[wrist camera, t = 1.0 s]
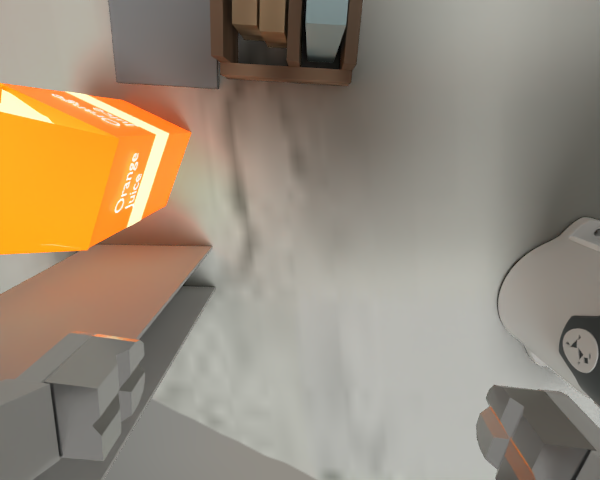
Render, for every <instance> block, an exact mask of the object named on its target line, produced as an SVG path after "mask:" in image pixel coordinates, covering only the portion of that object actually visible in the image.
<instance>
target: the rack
mask: <svg viewBox="0 0 600 480" xmlns="http://www.w3.org/2000/svg"><path fill="white" fill-rule="evenodd" d="M362 3H363V0H348V10H347V21H346V27H345V30H344V33H343V36H342V39H341V51H340V62H339V69H324V68H308V67H301V60H302V42H303V23H304V5H305V0H289V13H288V37H287V63H288V66H275V65H258V64H242V63H238V31H237V30H236V28H235V27H234V26H233V24H232V0H210V34H211V56H212V57H214V58H215V59H216V60H218V61H219V62H220V74H221V75H222V76H224V77H226V78H228V79H241V80H257V81H274V82H290V83H306V84H323V85H339V86H348V85H349V84H350V83H351V76H352V70H353V68H354V67H355V66H356V62H357V52H358V42H359V33H360V23H361V13H362Z"/></svg>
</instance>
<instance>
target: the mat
mask: <svg viewBox="0 0 600 480" xmlns="http://www.w3.org/2000/svg"><path fill="white" fill-rule="evenodd" d="M108 3H109V12H110V22H111V32H112V42H113V52H114V61H115V71H116V81H117V82H118V83H129V84H145V85H161V86H177V87H194V88H210V89H219V79H218V60H216V59H215V58H214V57H212V56H211V34H210V0H108Z"/></svg>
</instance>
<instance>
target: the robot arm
mask: <svg viewBox="0 0 600 480" xmlns="http://www.w3.org/2000/svg"><path fill="white" fill-rule="evenodd" d="M596 230H597V232H596V233H595V234H594V232H595V231H596ZM498 310H499V315H500V319H501V321H502V323H503V325H504V327H505V328H506V330H507V331H508V332H509V333H510V334H511V335H512V336H513V337H515V338H516V339H517V340H518V341H520V342H521V343H522V344H523V345H524V346H525V348H526V351H527V353H528V355H529V357H530V358H531V360H533V361H534V362H535V363H536V364H537V365H539V366H548V367H549V368H550V369H552V370H553V371H554V372H555V373H556V374H558V375H559V376H560V377H561V378H562V379H564V380H565V381H566V382H567V383H568V384H570V385H571V386H572V387H573V388H574V389H576V390H577V391H578V392H579V393H581V394H582V395H584V396H586V397H588V398H591V399H592V400H593V401H594V403H595V404H596V405H597V406H598V407H599V408H600V220H597V219H593V218H589V217H583V218H580V219H578V220H577V221H575V222H574V223H573V224H572V225H570V226H569V227H568V228H567V229H566V230H565V231H564V232H563V233H562V234H561V235H560V236H558V237H557V238H555V239H553V240H552V241H549V242H547V243H545V244H543V245H541V246H539V247H537V248H535V249H534V250H532V251H531V252H529V253H528V254H526V255H525V256H524V257H523V258H522V259H521V260H519V261H518V262H517V263H516V264H515V266H514V267H513V268H512V269H511V271H510V272H509V273H508V275H507V277H506V278H505V280H504V282H503V284H502V287H501V290H500V294H499V299H498ZM143 357H144V343H143V342H142V341H141V340H137V339H130V338H123V337H116V336H110V335H103V334H95V333H88V332H80V331H74V332H70V333H68V334H67V335H66V336H65V337H64V338H63V339H61V340H60V341H59V342H58V343H57V344H56V345H54V346H53V347H52V348H51V349H50V350H48V351H47V352H46V353H45V354H44V355H43V356H41V357H40V358H39V359H38V360H37V361H36V362H34V363H33V364H32V365H31V366H30V367H29V368H27V369H26V370H25V371H24V372H23V373H22V374H20V375H19V376H18V377H17V378H16V379H4V380H2V381H0V480H33V479H34V478H36V477H37V476H39V475H40V474H41V473H43V472H44V471H45V470H47V469H48V468H50V467H51V466H52V465H54V464H55V463H56V462H58V461H59V460H60V457H61V458H72V459H84V460H95V461H104V460H105V458H106V456H107V455H108V453H109V452H110V450H111V448H112V447H113V445H114V444H115V442H116V440H117V439H118V437H119V436H120V434H121V422H122V421H123V420H125V419H127V418H128V417H130V416H132V414H133V413H134V411H135V409H136V408H137V406H138V404H139V401H140V399H141V396H142V393H143V389H144V383H145V371H144V370H143V369H142V367H141V366H140V365H139V363H140V361H141V360H142V358H143ZM486 400H487V402H488V405H489V407H488V408H487V409H485V410H484V411H483V412H481V413H480V415H479V418H478V421H477V424H476V431H477V440H478V444H479V447H480V450H481V452H482V454H483V456H484V458H485V459H486V460H487V461H488V462H489V463H491V464H492V465H493V466H494V467H495V468H496V469H497V472H496V477H495V479H496V480H600V428H599V427H598V426H597V425H596V424H595V423H594V422H593V421H592V420H591V419H590V418H589V417H588V416H587V415H586V414H585V413H584V412H583V411H582V410H581V409H580V408H579V407H578V405H577V404H576V403H575V402H574V401H573V400H572V399H571V398H570V397H569V396H567V395H566V394H564V393H562V392H559V391H549V390H539V389H538V390H533V389H525V388H516V387H508V386H500V385H494V386H493V387H491V388H490V389H489V391H488V394H487V396H486Z"/></svg>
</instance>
